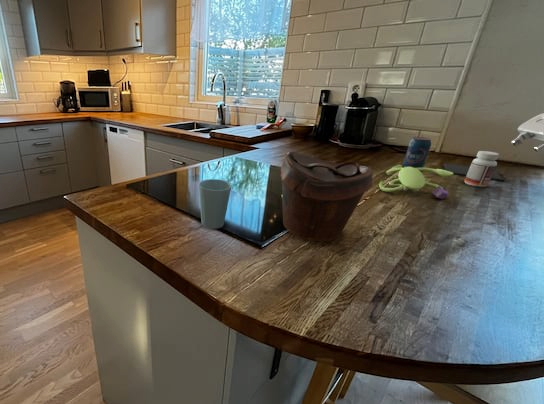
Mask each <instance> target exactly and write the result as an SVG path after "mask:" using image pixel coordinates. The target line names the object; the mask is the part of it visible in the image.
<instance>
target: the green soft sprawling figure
mask: <svg viewBox="0 0 544 404" xmlns="http://www.w3.org/2000/svg"><path fill="white" fill-rule="evenodd" d="M394 172H398V175H397V176H398V178H395V179H392V180H391V181H389V182H388V183H389V185H390V186H392V187H393V186H394V187H393V188H392V187H384V180H381V181H380V182H379V183H378V187H379V189H380V190H381V191H382V192H387V193H394V192H395V193H396V192H399V191H402V190H403V191H405V192H406V191H408V190H410V191H413V192H415V193H418V192H419V191H420V189H422V188H423V187H424V186H427V187H432V188H435V190H433V191H432V192H431V193H432V194H433V195H434V196H435V197H436V199H437V198H438V199H442V200H444V199H445V198H447V197H448V196H449V195H450V194H449V191H448V190H447V188H443V187H442V186H440V185H438V184H437V183H432V182H428V181H426V178H425V175H424V174H423V173H422V172H429V173H434V174H437V175H438V176H439V177H441V178H442V177H443V178H450V177H452V176H453V175H455V174H454V173H453V172H450V171H446V170H445V169H441V168H432V167H431V168H430V167H422V168H413V167H403V165H402V164H396V165H394V166H393V167H391V168H390V169H388V170H386V175H388V176H389V175H391V174H392V173H394Z"/></svg>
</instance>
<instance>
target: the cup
mask: <svg viewBox="0 0 544 404" xmlns="http://www.w3.org/2000/svg"><path fill="white" fill-rule="evenodd" d="M231 190H232V184H231V183H230V182H229V181H226V180H223V179H217V178H211V179H210V178H209V179H203V180H201V181H199V183H198V193H199V195H198V196H199V207H200V219H201V221H200V222H201V225H202V226H203V227H205V228H207V229H213V230H217V229H221V228H222V227H224V225H225V220H226V215H227V211H228V206H229V201H230V195H231Z"/></svg>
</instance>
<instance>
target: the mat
mask: <svg viewBox="0 0 544 404" xmlns="http://www.w3.org/2000/svg"><path fill="white" fill-rule="evenodd" d="M443 167H444V170H446V171H450V172H453V173H454V174H453V175H457V176H462V177H463V176H464V177H466V176H467V173H468V171H469V168H470V166H466V165H465V166H464V165H456V164H451V163H443ZM491 180H492V181H499V182H504V181H505V179H504V178H503V177H502V176H501V175H500V174H499V173H498V171H497V170H495V171H494V173H493V175H492V177H491V179H490V181H491Z"/></svg>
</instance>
